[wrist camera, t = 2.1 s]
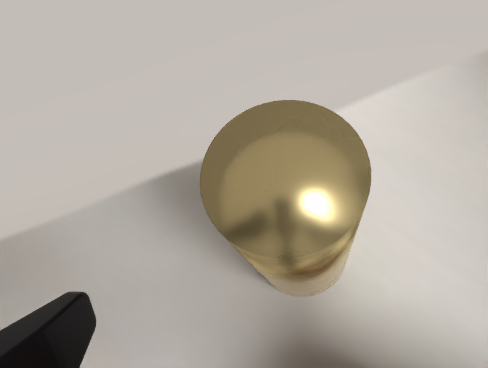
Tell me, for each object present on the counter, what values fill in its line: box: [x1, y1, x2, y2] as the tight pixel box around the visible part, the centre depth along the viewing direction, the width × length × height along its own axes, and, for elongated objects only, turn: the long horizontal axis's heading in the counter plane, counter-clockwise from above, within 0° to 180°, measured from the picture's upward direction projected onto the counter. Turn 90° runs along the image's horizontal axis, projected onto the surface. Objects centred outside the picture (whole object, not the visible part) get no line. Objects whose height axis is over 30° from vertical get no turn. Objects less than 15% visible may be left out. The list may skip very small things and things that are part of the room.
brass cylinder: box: [200, 100, 371, 296], centre depth 15 cm, size 4×4×10 cm
